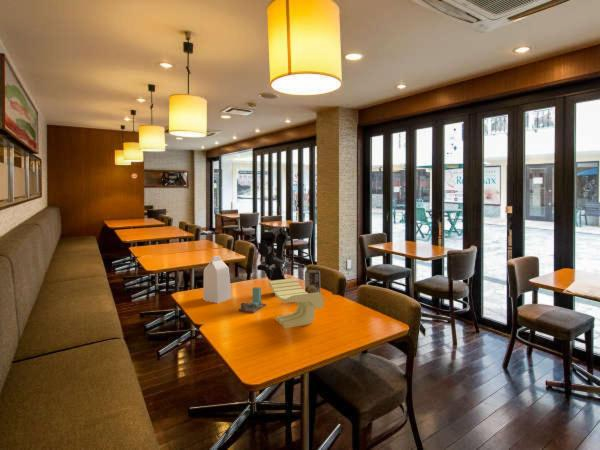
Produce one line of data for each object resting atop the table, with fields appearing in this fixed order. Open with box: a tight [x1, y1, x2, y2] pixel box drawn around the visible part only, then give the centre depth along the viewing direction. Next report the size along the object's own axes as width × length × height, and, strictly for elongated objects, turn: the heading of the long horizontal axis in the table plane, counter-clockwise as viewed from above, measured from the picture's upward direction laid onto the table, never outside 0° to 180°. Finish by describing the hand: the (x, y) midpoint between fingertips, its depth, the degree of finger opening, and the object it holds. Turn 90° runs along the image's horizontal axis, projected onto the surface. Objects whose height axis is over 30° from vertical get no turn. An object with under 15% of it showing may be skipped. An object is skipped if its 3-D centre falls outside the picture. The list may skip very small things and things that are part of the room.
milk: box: [202, 255, 232, 304], centre depth 220 cm, size 12×12×26 cm
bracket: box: [238, 302, 267, 314], centre depth 203 cm, size 14×9×4 cm, turn 157°
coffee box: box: [304, 269, 321, 293], centre depth 222 cm, size 9×6×16 cm
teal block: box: [249, 286, 262, 308], centre depth 204 cm, size 9×4×9 cm, turn 157°
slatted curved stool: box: [269, 278, 324, 329], centre depth 182 cm, size 30×16×18 cm, turn 24°
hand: (269, 279), depth 215 cm, fingers closed
